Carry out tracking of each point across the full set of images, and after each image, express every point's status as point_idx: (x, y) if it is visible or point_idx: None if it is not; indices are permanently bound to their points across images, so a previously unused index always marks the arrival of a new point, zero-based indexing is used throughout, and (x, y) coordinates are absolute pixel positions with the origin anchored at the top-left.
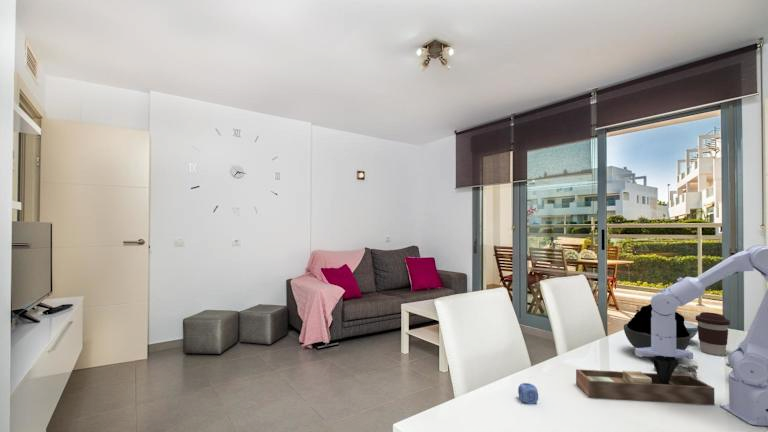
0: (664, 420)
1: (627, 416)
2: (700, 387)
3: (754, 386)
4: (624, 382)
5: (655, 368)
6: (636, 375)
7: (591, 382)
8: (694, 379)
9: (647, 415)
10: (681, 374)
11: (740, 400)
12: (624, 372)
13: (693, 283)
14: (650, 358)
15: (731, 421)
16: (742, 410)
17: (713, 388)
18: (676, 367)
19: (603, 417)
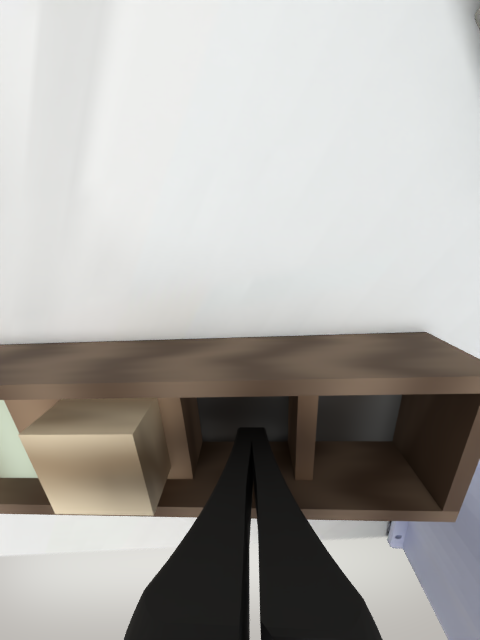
0: (154, 532)
1: (63, 524)
2: (383, 520)
3: None
4: (27, 505)
5: (214, 491)
6: (84, 488)
7: None
8: (467, 427)
9: (119, 517)
10: None
11: (447, 588)
12: (30, 446)
13: None
14: (153, 587)
15: (347, 525)
16: (421, 543)
17: (449, 519)
18: None
19: (2, 531)
